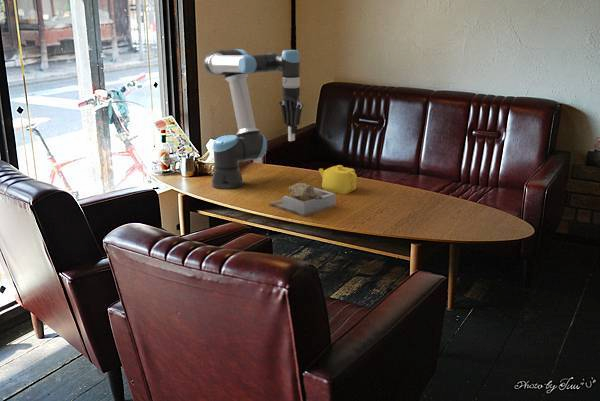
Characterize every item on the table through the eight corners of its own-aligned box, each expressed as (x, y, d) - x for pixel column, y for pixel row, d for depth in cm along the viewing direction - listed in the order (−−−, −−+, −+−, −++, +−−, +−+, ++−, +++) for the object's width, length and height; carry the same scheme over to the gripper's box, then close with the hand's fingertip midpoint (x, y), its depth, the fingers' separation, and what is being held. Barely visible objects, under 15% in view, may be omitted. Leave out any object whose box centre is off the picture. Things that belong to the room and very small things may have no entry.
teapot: (312, 189, 304) (312, 165, 301) (325, 183, 314) (326, 159, 311) (349, 196, 294) (350, 171, 290) (362, 189, 304) (363, 165, 300)
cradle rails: (282, 207, 275) (282, 195, 273) (313, 197, 288) (313, 186, 286) (305, 214, 266) (305, 202, 264) (336, 204, 278) (336, 192, 277)
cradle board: (268, 205, 282) (268, 202, 281) (299, 196, 294) (299, 193, 294) (304, 217, 267) (304, 214, 266) (335, 206, 279) (335, 204, 279)
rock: (297, 198, 267) (313, 181, 271) (280, 193, 277) (295, 178, 281) (310, 216, 273) (324, 200, 277) (292, 211, 283) (306, 196, 286)
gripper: (274, 86, 279) (275, 139, 286) (295, 89, 270) (295, 144, 277) (287, 84, 284) (287, 137, 291) (308, 87, 275) (308, 141, 282)
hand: (291, 140), depth 284 cm, fingers closed
